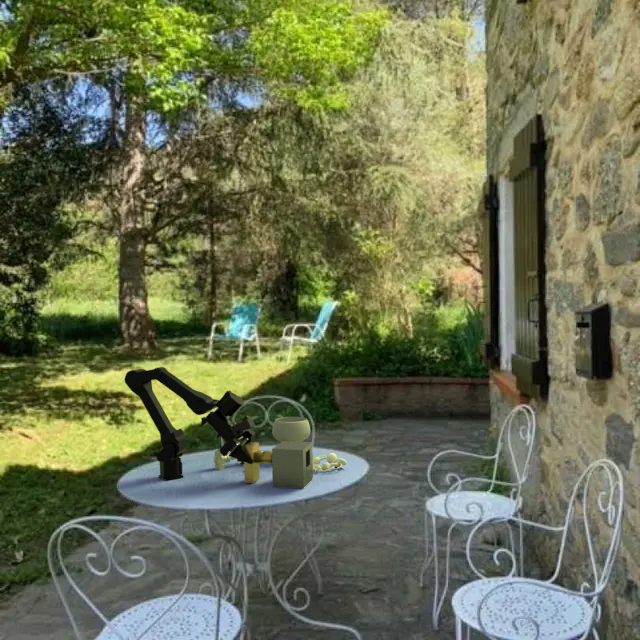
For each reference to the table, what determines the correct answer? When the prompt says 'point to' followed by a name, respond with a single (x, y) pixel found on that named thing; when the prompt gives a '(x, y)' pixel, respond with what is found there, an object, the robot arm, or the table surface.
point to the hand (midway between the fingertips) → (255, 461)
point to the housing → (292, 464)
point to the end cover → (255, 461)
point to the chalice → (291, 429)
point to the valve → (222, 460)
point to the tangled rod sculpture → (326, 466)
